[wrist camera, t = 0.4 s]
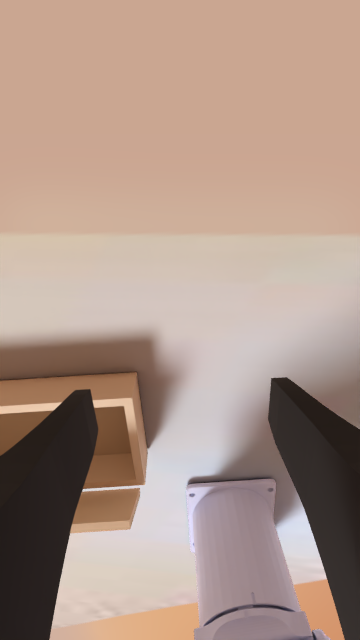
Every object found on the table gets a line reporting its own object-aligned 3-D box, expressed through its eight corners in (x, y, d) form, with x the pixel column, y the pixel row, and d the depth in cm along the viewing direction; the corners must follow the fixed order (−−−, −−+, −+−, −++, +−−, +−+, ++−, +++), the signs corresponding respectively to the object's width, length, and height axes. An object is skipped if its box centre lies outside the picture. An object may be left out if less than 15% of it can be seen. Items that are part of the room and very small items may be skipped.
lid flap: (139, 488, 23) (140, 496, 23) (-64, 501, 23) (-64, 510, 23) (129, 520, 19) (130, 531, 18) (-123, 537, 18) (-124, 547, 18)
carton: (147, 452, 26) (144, 484, 23) (-44, 465, 26) (-70, 498, 23) (136, 371, 23) (132, 397, 20) (-82, 386, 23) (-117, 414, 20)
